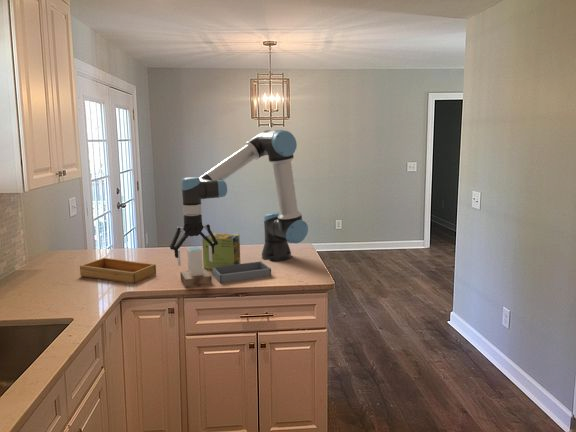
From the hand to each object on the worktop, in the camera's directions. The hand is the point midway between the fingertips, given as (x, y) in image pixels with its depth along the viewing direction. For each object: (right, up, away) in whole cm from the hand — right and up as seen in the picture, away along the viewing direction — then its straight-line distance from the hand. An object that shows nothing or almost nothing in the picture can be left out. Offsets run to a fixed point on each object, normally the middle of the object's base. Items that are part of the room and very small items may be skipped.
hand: (195, 263), depth 208 cm
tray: (-38, -8, +14) cm, 41 cm away
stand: (0, -9, +2) cm, 9 cm away
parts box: (0, -5, +1) cm, 5 cm away
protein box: (+8, -5, +25) cm, 26 cm away
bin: (+19, -7, +9) cm, 22 cm away
